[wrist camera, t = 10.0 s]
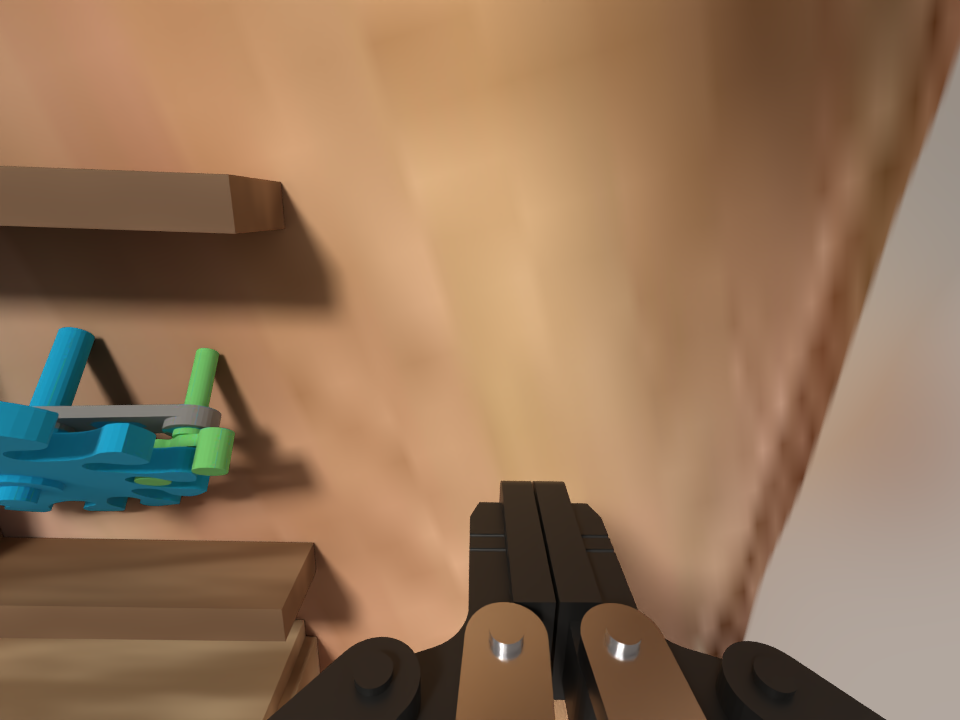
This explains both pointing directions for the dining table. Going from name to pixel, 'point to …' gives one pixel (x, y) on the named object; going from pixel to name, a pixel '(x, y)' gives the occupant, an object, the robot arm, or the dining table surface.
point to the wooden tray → (153, 678)
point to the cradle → (147, 563)
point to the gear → (108, 440)
